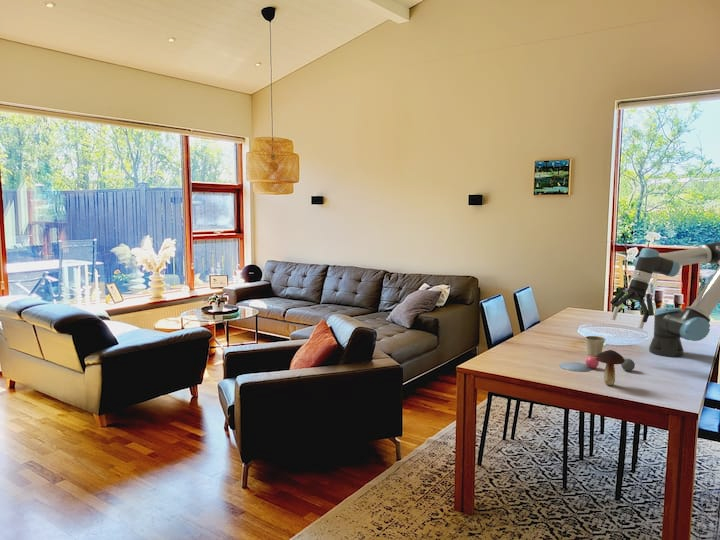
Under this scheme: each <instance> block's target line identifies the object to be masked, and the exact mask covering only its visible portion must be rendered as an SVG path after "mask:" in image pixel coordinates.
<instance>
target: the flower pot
mask: <svg viewBox="0 0 720 540" xmlns="http://www.w3.org/2000/svg"><path fill="white" fill-rule="evenodd" d="M584 338H585V339H584V340H585V342H586V349H587V351H586V352H587V355H589V357H590V356H593V357H597V355H598V354H600V353H602V352H603V346H604V343H605V341H606V338H604V337H602V336H595V335H588V336H587V335H586V336H584Z"/></svg>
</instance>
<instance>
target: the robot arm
mask: <svg viewBox="0 0 720 540" xmlns="http://www.w3.org/2000/svg"><path fill="white" fill-rule="evenodd" d="M700 263H701V264H703V265H706V264H707V265H708V264H717V265H718V267H717V269H716V270H715V271H714V273H713V274H712V276H711V277H710V278H709V280H708V281H707V283H706V284H705V285H704V287H703V288H702V289H701V291H700V293H699V294H698V295H697V296H696V298H695V299H694V301H693V302H692V304H691V305H690V306H685V308H684V309H683V310H682V308H681V307H659V308H656V309H655V312H654V306H653V294H652V293H651V294H650V293H647V291H648V288H649V285H650V284H649V283H650V282H651V278H652V275H653V274H659V275H664V276H666V277H675V276H677V275H678V273H679V272H680V270H681V267H682V266H687V265H689V266H690V265H695V264H700ZM633 266H634V271H633V274H632V279H631V280H630V283H629V287H628V288H627V287H625V286H622V287H621V289H620V291H619V292H618V293H617V294H616V295H615V296H614V297H613V298H612V299H611V300H610V302H609V303H610V305H612V309H611V313H612V314H611V318H610V320H612V321H616V319H617V316H618V313H619V309H620V307H619V306H621V305H622V304H624V303H625V302H627V301H629V300H633V301H637V302H638V303H639V304H640V307H641V310H642V312H643V313H642V314H641V317H640V321H639V324H638V326H637V329H641V330H643V328H644V325H645V323H647V321H648V319H649V317H650V316H654V320H653V321H654V325H653V327H654V328H653V338H652V339H651V342H650V344H649V347H648V351H649V353H650V354H654V355H658V356H664V357H676V358H677V357H681V356H684V350H685V349H684V346H683V344H682V341H681V339H684V340H686V341H692V342H698V341H701V340H704V339H705V338H706V337H707V336H708V335H709V333H710V330H711V328H710V327H711V325H710V322H711V318H710V315H711V314H712V313H713V311H714V310H715V308H716V307H717V305H718V304H719V303H720V241H715V242H711V243H706V244H700V245H698V247H695V248H688V249H683V250H682V249H681V250H675V251H670V252H664V253H660V252H659V251H658V250H657V249H654V248H649V247H643V248H641V250H640V252H639V254H638V256H636V257H635V259H634V261H633ZM626 293H627V294H626ZM625 294H626V295H625ZM645 298H646V302H645ZM646 304H647V305H646Z"/></svg>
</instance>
